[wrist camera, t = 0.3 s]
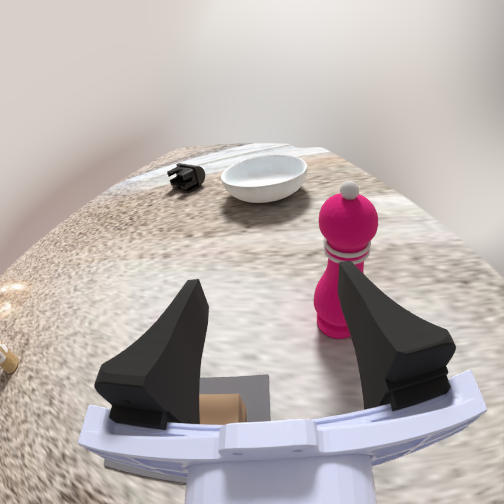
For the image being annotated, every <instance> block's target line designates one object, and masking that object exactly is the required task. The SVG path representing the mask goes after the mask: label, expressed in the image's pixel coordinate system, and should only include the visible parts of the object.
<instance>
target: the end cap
mask: <svg viewBox="0 0 504 504" xmlns="http://www.w3.org/2000/svg"><path fill="white" fill-rule="evenodd" d="M176 165H177V167H176V168H174V169H172V170H170V171H168V172H167V173H168V177H169V176H171V175H173V174H177V176H176V177H175V178H173V179H171V180H170V183H171V185H172V186H173V187H172V188H173V189H175V190H178V191H181V192H185V193H190V192H192V191H194V190H196V189H198V188H199V187H200V186H201V185H202V183H203V182H204V180H205V171H204V169H203V168H202V167H200V166H194V165H188V164H181V163H179V164H176Z"/></svg>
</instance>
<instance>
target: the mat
mask: <svg viewBox="0 0 504 504" xmlns="http://www.w3.org/2000/svg"><path fill="white" fill-rule="evenodd" d="M199 394H239V395H240V397H241V399H242V400H243V402H244V404H245V406H246V408H247V422H265V421H270V398H269V375H255V376H239V377H214V378H200V388H199ZM104 466H107V467H111V468H114V469H118V470H121V471H125V472H129V473H133V474H138V475H142V476H147V477H152V478H157V479H162V480H168V481H175V482H182V483H186V482H187V478H184V477H178V476H173V475H167V474H162V473H158V472H153V471H149V470H145V469H140V468H137V467H133V466H129V465H125V464H121V463H118V462H114V461H111V460H107V459H105V461H104Z"/></svg>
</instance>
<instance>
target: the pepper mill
mask: <svg viewBox="0 0 504 504" xmlns="http://www.w3.org/2000/svg"><path fill="white" fill-rule="evenodd" d="M319 228H320V230H321V233H322V234H323V236H324V237H325V238H324V252H325V254H326V256H327V257H328V265H327V268H326V271H325V272H324V274H323V276H322V277H321V279H320V280H319V282H318V284H317V287H316V289H315V293H314V307H315V310H316V312H317V324H318V327H319V329H320V330H321V331H322V332H323V333H324V334H325V335H327V336H329V337H332V338H335V339H343V338H348V337H350V336H351V335H350V332H349V329H348V326H347V323H346V321H345V318H344V315H343V312H342V309H341V305H340V301H339V296H338V274H339V262H344V261H351V262H353V263H354V265H355V266H356V267H357V268H358V269H359V270H360V271H361V272H362V273H363V266H364V260H365V259H366V258H367V257H368V256H369V253H370V246H371V240H372V238H373V237H374V236H375V234H376V232H377V228H378V215H377V212H376V209H375V207H374V206H373V204H372V203H371V202H370V201H369V200H368V199H367V198H365V197H364V196H362V195H359V188H358V186H357V185H356V183H354V182H352V181H346V182H344V183H343V184H342V185H341V188H340V194H336V195H334V196H332V197H330V198H329V199H327V200H326V201H325V203H324V204H323V205H322V208H321V210H320V213H319ZM363 274H364V273H363Z"/></svg>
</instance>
